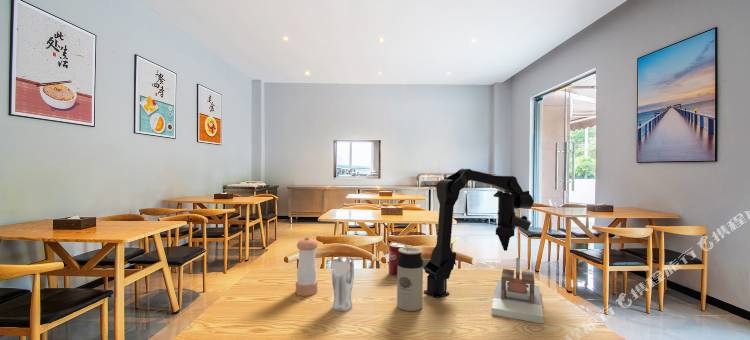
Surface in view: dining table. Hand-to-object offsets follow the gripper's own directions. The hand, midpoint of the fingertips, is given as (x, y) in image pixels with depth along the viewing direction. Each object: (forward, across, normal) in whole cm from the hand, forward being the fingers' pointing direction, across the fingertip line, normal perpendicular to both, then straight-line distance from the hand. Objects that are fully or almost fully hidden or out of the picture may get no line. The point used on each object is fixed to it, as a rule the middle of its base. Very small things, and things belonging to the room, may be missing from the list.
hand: (505, 250), depth 128 cm
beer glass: (+13, -44, +46) cm, 64 cm away
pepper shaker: (+13, -38, +63) cm, 75 cm away
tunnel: (+11, -16, -4) cm, 20 cm away
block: (+11, -16, -4) cm, 20 cm away
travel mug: (+13, -34, +27) cm, 45 cm away
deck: (+13, -16, -4) cm, 21 cm away
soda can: (+13, -5, +41) cm, 43 cm away
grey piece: (+11, -15, -4) cm, 19 cm away
